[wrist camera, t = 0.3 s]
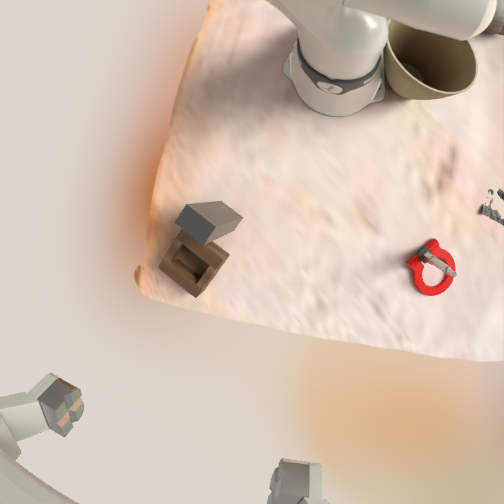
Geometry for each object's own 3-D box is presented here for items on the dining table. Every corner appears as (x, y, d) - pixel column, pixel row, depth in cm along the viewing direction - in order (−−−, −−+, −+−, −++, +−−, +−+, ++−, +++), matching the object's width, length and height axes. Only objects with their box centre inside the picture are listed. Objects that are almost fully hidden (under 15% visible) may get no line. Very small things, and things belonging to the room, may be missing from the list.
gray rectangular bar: (221, 201, 55) (186, 204, 39) (243, 217, 54) (216, 226, 39) (212, 214, 55) (174, 222, 40) (233, 230, 55) (203, 245, 40)
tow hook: (459, 272, 49) (436, 233, 48) (495, 297, 35) (472, 249, 35) (426, 302, 51) (401, 264, 51) (455, 335, 38) (429, 290, 37)
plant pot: (356, 93, 46) (371, 57, 31) (381, 36, 43) (399, -8, 27) (427, 133, 45) (466, 114, 30) (448, 74, 41) (484, 43, 26)
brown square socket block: (192, 225, 57) (182, 228, 52) (229, 254, 56) (223, 259, 52) (168, 262, 59) (158, 267, 55) (204, 290, 58) (195, 298, 54)
